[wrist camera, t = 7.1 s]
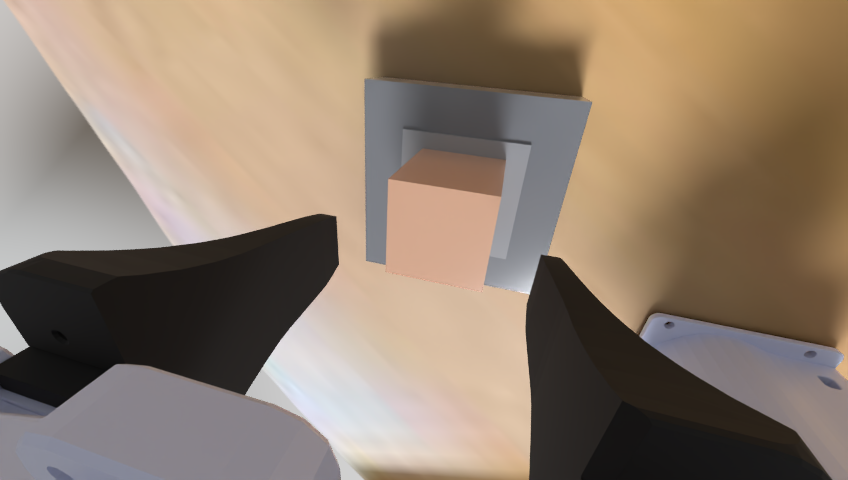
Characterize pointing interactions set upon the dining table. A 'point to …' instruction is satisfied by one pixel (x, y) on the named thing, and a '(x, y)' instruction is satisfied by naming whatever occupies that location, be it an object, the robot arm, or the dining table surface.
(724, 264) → the dining table surface
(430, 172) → the terracotta block
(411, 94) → the slate plinth
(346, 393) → the dining table surface
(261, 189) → the dining table surface
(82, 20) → the dining table surface
